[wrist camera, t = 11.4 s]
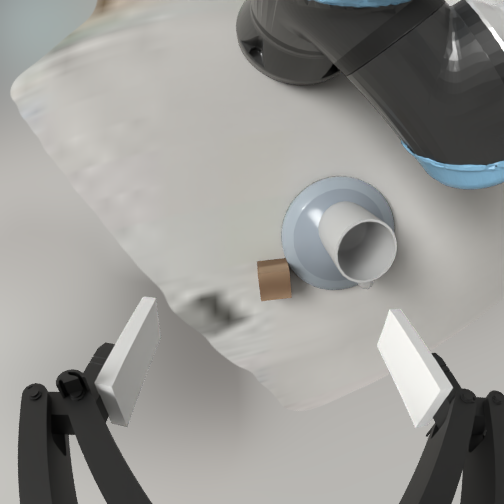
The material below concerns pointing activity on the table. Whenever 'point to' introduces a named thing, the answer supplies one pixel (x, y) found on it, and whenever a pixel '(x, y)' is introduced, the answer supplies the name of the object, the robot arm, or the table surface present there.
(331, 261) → the dish
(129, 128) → the table surface
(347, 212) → the cup
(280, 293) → the walnut block
